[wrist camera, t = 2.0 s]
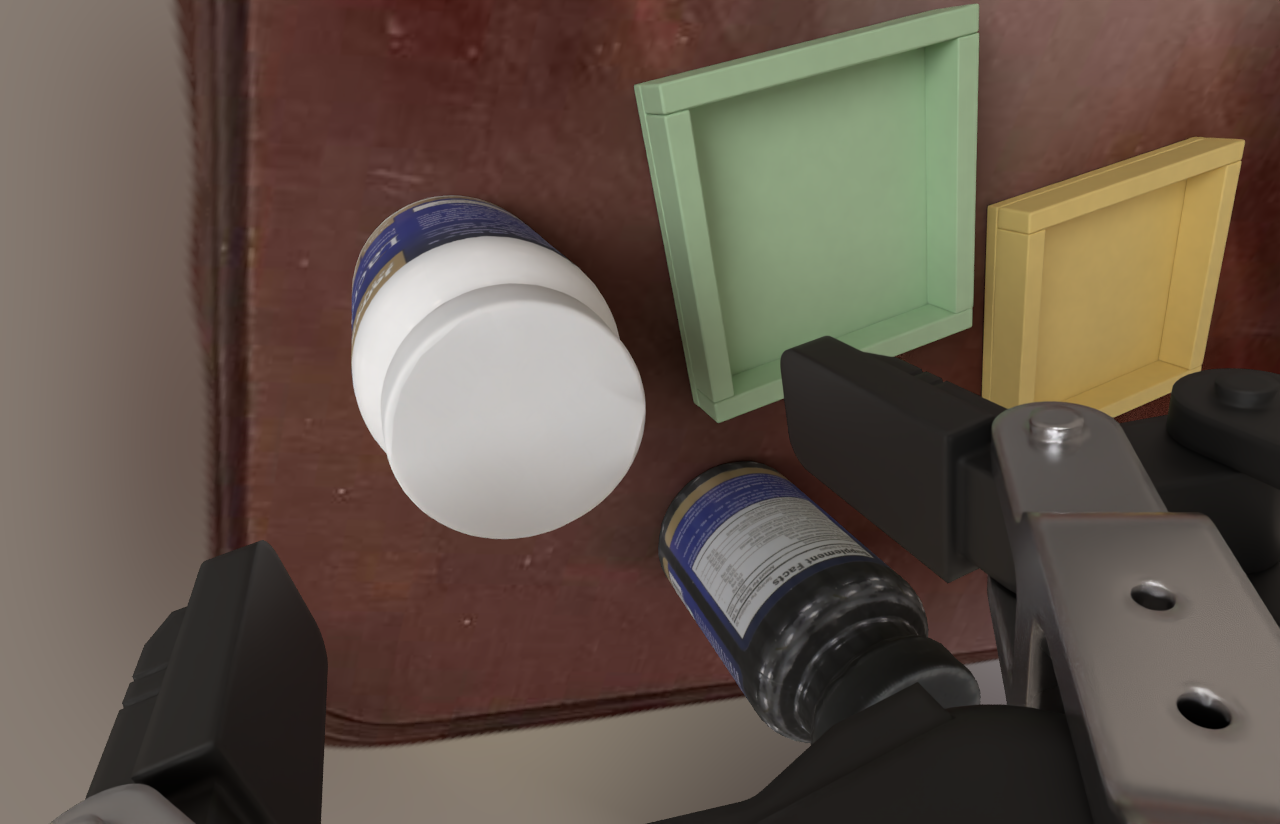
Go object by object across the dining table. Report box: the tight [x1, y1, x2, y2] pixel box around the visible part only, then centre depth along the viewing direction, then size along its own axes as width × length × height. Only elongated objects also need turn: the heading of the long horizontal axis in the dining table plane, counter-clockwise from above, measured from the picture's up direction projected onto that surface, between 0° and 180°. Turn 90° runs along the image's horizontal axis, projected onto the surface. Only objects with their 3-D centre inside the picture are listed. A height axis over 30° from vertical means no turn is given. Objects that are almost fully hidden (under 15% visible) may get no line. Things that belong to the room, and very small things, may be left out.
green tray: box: [634, 4, 979, 423], centre depth 23 cm, size 11×11×2 cm
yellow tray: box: [982, 137, 1245, 418], centre depth 29 cm, size 11×11×2 cm
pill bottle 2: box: [658, 461, 981, 745], centre depth 23 cm, size 6×6×11 cm
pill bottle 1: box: [351, 196, 646, 539], centre depth 17 cm, size 6×6×10 cm
